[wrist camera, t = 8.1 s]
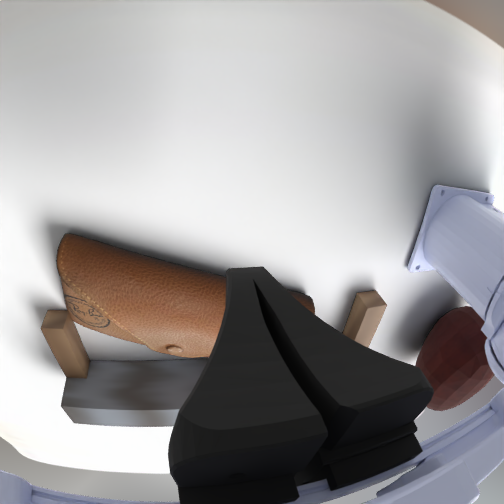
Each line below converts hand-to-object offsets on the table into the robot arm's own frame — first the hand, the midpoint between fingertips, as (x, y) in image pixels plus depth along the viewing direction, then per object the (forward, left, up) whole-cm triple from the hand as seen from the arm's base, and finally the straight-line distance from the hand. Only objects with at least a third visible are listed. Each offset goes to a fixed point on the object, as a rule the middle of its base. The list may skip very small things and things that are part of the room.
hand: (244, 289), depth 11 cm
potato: (-26, +16, -8) cm, 32 cm away
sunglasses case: (+3, +8, -9) cm, 12 cm away
